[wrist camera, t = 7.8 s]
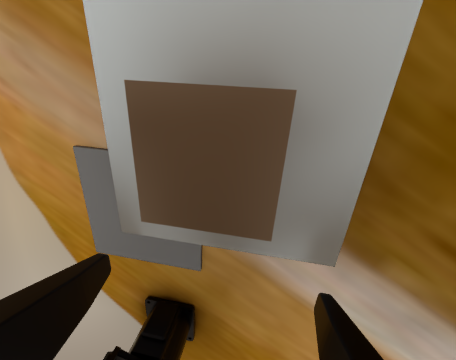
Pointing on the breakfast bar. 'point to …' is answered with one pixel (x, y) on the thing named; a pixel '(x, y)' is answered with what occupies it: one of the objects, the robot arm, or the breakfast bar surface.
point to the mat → (110, 222)
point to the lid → (245, 115)
